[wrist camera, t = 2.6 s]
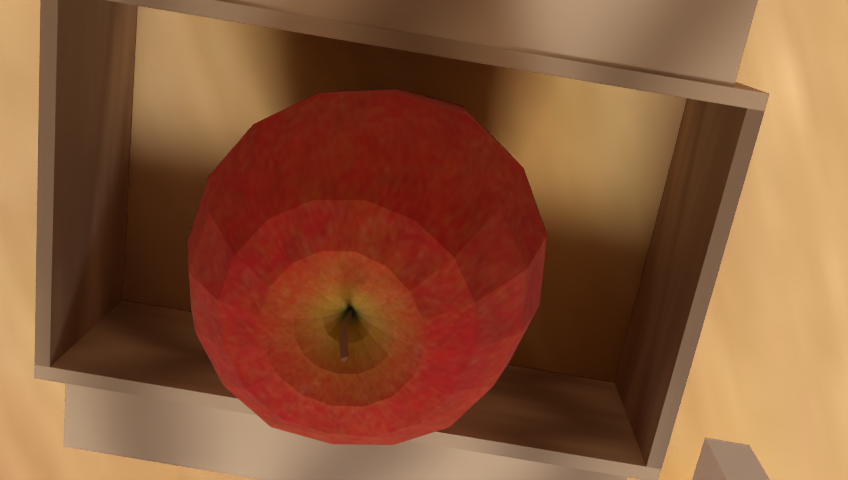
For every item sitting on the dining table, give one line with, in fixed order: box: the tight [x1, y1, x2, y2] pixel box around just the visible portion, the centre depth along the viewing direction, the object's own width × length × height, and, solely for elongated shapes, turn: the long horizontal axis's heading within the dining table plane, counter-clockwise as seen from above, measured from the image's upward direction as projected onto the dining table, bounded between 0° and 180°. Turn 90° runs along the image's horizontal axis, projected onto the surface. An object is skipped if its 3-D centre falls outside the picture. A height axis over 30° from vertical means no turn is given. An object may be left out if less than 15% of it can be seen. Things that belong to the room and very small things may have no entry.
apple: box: [188, 89, 547, 445], centre depth 24 cm, size 10×10×14 cm
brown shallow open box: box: [34, 0, 769, 480], centre depth 28 cm, size 21×18×6 cm
